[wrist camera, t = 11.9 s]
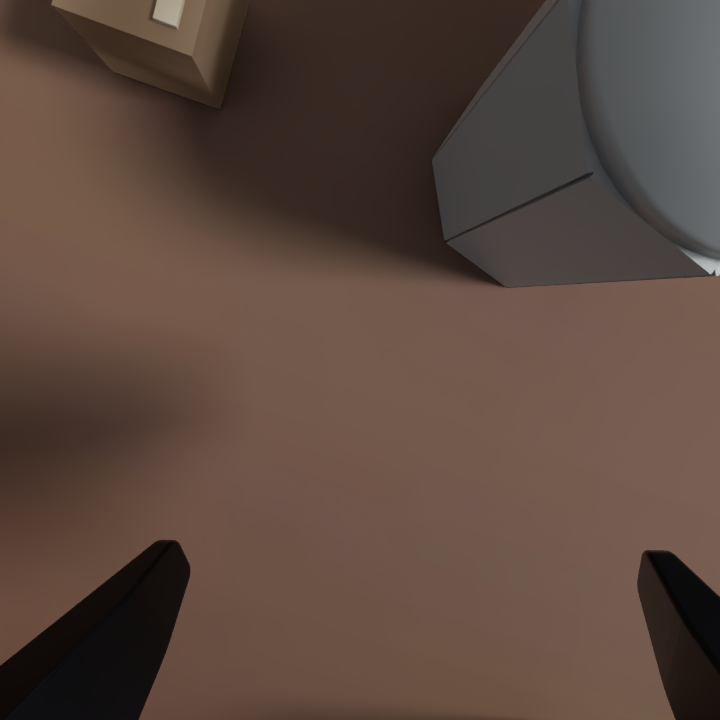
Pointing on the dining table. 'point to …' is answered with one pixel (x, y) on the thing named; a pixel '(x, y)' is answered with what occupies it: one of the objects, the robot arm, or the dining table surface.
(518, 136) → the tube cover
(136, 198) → the dining table surface
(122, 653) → the robot arm
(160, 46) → the taped cardboard box
